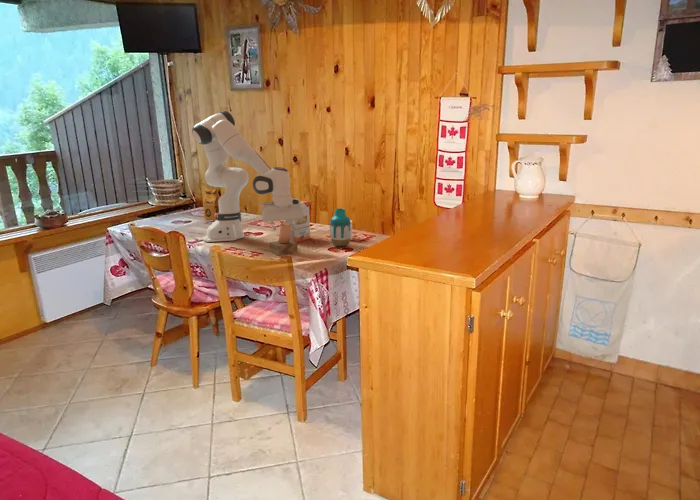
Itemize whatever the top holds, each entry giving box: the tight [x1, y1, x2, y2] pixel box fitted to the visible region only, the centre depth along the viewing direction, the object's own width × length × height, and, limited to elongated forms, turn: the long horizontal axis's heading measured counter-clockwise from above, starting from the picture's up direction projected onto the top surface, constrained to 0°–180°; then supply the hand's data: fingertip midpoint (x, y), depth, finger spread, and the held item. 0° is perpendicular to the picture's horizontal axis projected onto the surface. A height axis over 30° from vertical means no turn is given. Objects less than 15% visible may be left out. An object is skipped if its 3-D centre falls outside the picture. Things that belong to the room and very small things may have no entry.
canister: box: [278, 221, 291, 243], centre depth 251 cm, size 5×5×10 cm
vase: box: [329, 207, 351, 247], centre depth 261 cm, size 11×11×19 cm
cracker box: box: [285, 200, 311, 244], centre depth 274 cm, size 14×6×21 cm, turn 147°
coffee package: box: [202, 188, 221, 221], centre depth 330 cm, size 10×12×22 cm
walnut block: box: [269, 240, 298, 256], centre depth 253 cm, size 10×10×5 cm
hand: (283, 228), depth 251 cm, fingers open, 8 cm apart
